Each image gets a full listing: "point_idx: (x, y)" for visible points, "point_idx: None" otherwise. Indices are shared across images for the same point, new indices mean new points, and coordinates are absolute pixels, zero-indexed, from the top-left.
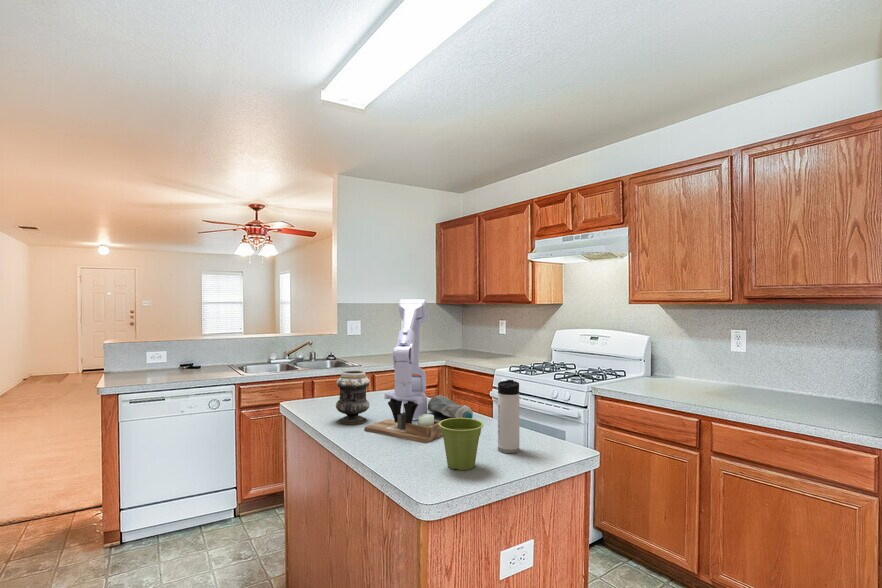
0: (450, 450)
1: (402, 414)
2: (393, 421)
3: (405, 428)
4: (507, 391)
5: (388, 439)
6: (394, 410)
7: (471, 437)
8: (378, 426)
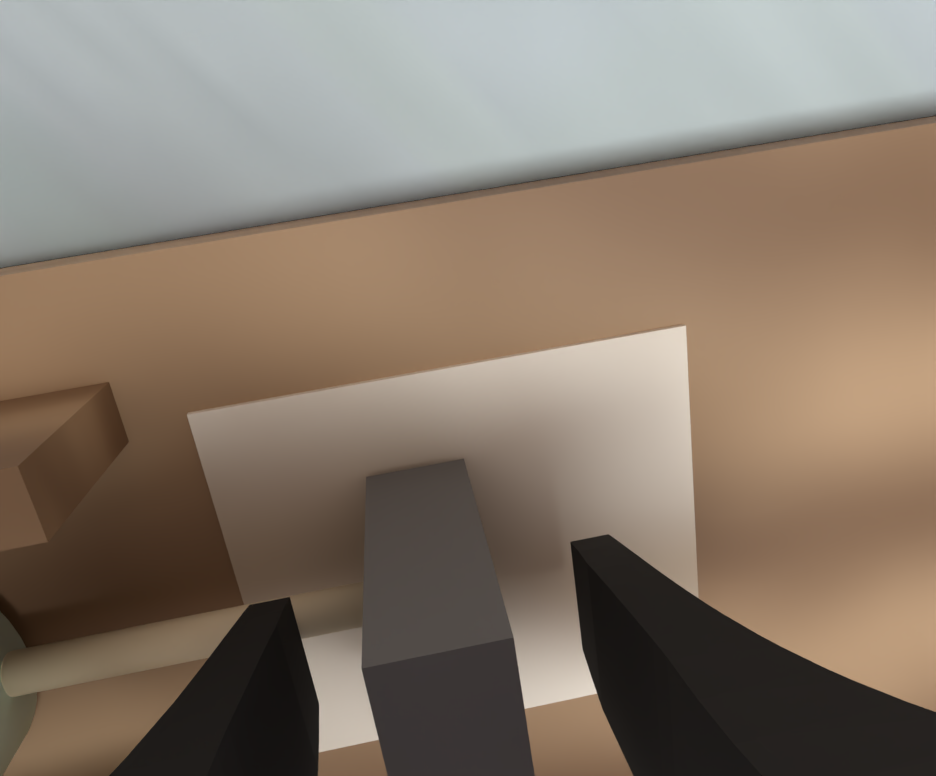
0: None
1: (404, 735)
2: None
3: None
4: None
5: (241, 2)
6: (698, 706)
7: None
8: (884, 321)
